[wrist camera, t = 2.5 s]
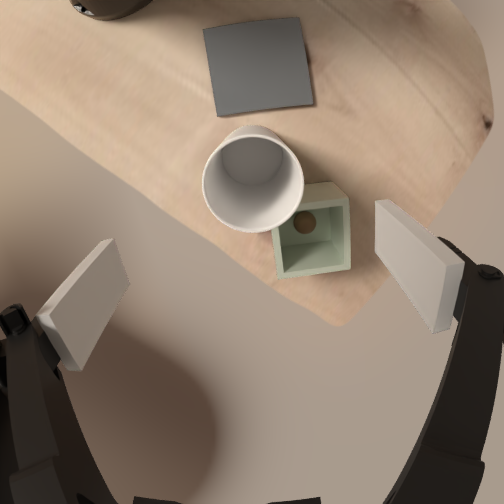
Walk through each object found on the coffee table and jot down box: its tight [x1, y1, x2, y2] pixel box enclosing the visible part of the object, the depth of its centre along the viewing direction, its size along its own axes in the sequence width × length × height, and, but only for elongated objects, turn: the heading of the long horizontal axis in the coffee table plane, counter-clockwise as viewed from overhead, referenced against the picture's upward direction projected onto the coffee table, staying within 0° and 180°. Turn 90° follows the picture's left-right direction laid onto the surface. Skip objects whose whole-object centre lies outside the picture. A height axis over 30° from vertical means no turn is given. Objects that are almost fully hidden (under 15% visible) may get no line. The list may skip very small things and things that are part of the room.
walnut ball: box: [293, 211, 316, 234], centre depth 40 cm, size 3×3×3 cm
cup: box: [202, 125, 304, 233], centre depth 32 cm, size 8×8×16 cm
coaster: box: [203, 17, 313, 117], centre depth 33 cm, size 12×12×1 cm
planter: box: [271, 181, 351, 279], centre depth 39 cm, size 9×9×8 cm
